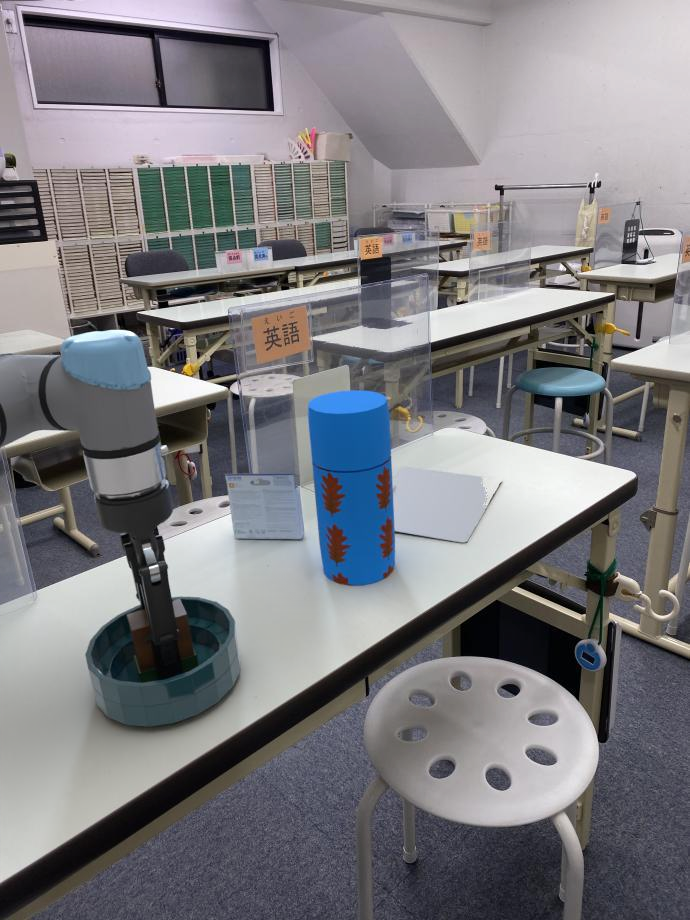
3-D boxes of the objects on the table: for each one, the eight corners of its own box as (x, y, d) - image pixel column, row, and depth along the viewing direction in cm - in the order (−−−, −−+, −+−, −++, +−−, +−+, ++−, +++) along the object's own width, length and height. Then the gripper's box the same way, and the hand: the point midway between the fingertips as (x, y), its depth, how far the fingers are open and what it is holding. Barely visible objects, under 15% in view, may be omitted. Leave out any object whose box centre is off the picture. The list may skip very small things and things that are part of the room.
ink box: (305, 533, 110) (299, 467, 106) (302, 541, 108) (295, 473, 104) (237, 532, 112) (228, 467, 108) (232, 539, 110) (223, 473, 106)
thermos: (370, 593, 93) (360, 418, 83) (307, 574, 98) (290, 408, 89) (409, 557, 101) (402, 394, 92) (348, 541, 107) (336, 386, 97)
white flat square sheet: (383, 466, 134) (383, 461, 134) (503, 482, 125) (503, 476, 124) (327, 522, 113) (326, 516, 113) (465, 546, 104) (466, 540, 103)
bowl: (89, 664, 82) (78, 622, 80) (218, 622, 89) (212, 583, 86) (108, 754, 69) (96, 706, 67) (260, 697, 75) (254, 652, 73)
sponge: (137, 673, 79) (124, 614, 76) (192, 655, 81) (182, 597, 79) (142, 691, 76) (129, 631, 73) (199, 672, 78) (189, 613, 75)
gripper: (185, 505, 64) (219, 703, 73) (151, 453, 79) (183, 624, 87) (103, 525, 62) (148, 729, 70) (83, 467, 76) (123, 643, 84)
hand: (168, 670), depth 79 cm, fingers closed on sponge, 4 cm apart
